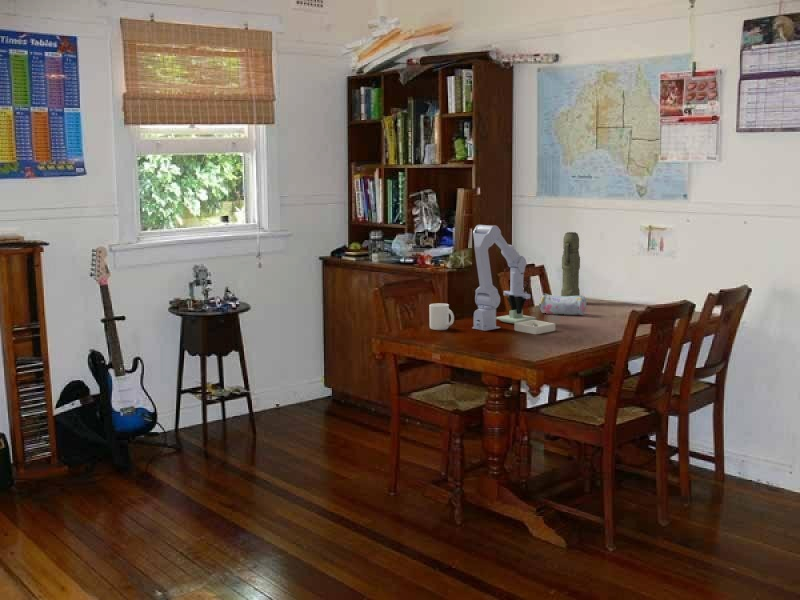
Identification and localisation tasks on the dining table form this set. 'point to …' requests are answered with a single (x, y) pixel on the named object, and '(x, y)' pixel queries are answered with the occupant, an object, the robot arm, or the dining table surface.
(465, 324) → the dining table surface
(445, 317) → the mug
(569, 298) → the pencil case
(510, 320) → the lid
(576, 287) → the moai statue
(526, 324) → the box
